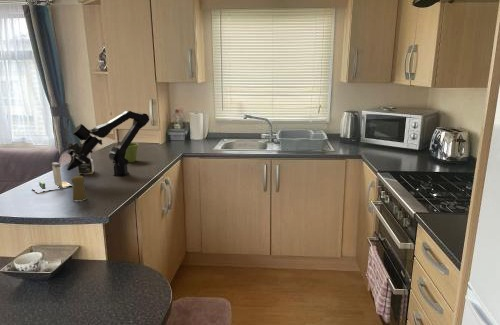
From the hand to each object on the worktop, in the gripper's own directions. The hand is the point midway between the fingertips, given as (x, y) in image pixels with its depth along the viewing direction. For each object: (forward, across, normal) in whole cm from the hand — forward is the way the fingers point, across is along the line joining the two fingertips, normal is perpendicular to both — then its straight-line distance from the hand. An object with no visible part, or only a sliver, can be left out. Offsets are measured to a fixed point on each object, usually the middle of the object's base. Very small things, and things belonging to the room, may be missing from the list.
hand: (67, 170), depth 186 cm
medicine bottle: (-5, -18, +16) cm, 25 cm away
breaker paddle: (+8, 0, +1) cm, 9 cm away
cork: (+9, +29, +2) cm, 30 cm away
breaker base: (+11, 0, 0) cm, 11 cm away
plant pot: (-28, -28, +38) cm, 54 cm away
